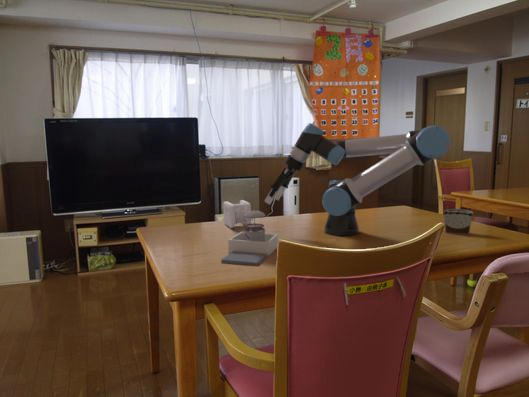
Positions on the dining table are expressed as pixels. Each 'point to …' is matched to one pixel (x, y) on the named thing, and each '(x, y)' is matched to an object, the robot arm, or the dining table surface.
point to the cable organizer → (236, 213)
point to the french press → (254, 225)
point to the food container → (458, 221)
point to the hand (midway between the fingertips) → (271, 200)
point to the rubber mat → (244, 258)
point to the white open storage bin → (253, 244)
